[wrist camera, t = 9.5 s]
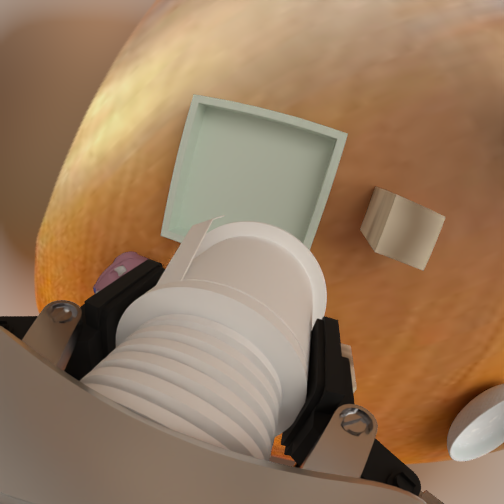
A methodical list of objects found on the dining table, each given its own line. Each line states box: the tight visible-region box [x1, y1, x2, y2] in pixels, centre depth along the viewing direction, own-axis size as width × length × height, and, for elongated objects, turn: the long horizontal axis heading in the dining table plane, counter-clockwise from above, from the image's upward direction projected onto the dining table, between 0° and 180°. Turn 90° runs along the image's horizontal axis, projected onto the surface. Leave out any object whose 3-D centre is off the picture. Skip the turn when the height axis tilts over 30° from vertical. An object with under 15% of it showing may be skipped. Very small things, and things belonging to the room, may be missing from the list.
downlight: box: [80, 215, 327, 461], centre depth 9 cm, size 8×7×10 cm
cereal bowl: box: [447, 384, 504, 461], centre depth 30 cm, size 17×17×7 cm
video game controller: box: [93, 252, 148, 294], centre depth 35 cm, size 10×5×7 cm, turn 132°
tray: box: [161, 95, 348, 250], centre depth 29 cm, size 16×16×3 cm
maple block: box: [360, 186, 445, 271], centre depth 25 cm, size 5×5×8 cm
